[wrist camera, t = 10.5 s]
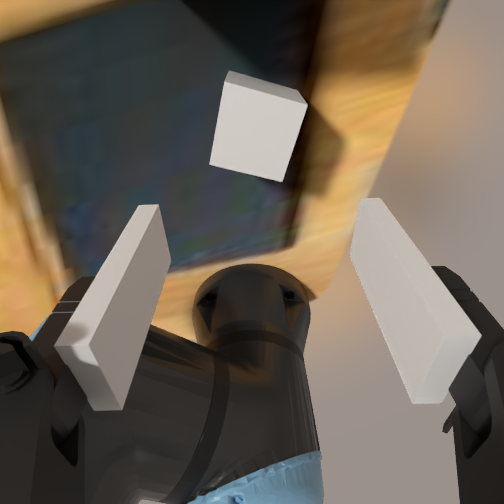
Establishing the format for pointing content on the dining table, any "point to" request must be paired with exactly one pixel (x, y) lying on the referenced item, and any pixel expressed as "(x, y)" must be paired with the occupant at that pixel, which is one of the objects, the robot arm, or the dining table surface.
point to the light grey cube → (257, 126)
